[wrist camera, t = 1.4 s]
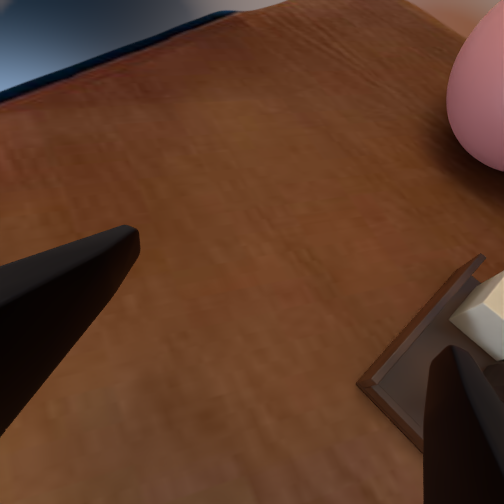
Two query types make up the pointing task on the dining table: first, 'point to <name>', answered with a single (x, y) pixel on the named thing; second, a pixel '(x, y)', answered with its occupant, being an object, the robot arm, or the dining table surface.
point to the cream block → (484, 316)
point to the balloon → (480, 91)
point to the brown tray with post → (426, 356)
